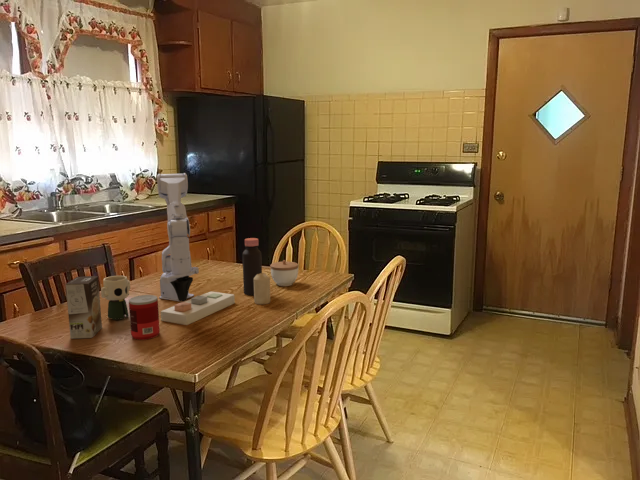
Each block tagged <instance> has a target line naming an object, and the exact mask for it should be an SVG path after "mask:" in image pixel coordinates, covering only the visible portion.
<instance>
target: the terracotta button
mask: <svg viewBox="0 0 640 480" xmlns="http://www.w3.org/2000/svg"><path fill="white" fill-rule="evenodd" d="M173 306H175V311H179V312H186V311H188V310H191V303H186V302H185V301H184V302H183V301H180V302H179V303H176V304H174V305H173Z"/></svg>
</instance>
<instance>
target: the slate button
mask: <svg viewBox="0 0 640 480" xmlns="http://www.w3.org/2000/svg"><path fill="white" fill-rule="evenodd" d="M190 298H191V304H196V305H202V304H205V303H207V297H205V296H200V295H195V296H192V297H190Z"/></svg>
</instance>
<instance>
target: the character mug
mask: <svg viewBox="0 0 640 480" xmlns="http://www.w3.org/2000/svg"><path fill="white" fill-rule="evenodd" d="M102 282H103V287H101V288H100V297H101V298H103V299H104V298H105V300H107V301H108V304H107V305H108V307H107V318H108V319H110V320H122V319H124V318H125V317H126V318H128V317H130V314H129V308H128V306H127V301H126V299H127V298H128V296H129V293H130V290H131V281H130V280H129V279H128V277H127V275H126V276H125V275H110V276H108V277H104V278H103V280H102Z"/></svg>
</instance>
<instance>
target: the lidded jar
mask: <svg viewBox="0 0 640 480" xmlns="http://www.w3.org/2000/svg"><path fill="white" fill-rule="evenodd" d="M269 266H270V275H271V278H272V280H273V281H274V283H276V285H277V286H280V287H289V286H293V285H294V283H295V281H296V280H297V278H298V275H299V264H298V263H297V262H295V261H287V260H286V259H283V260H282V261H277V262H272V263H271V264H270V265H269Z"/></svg>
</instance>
